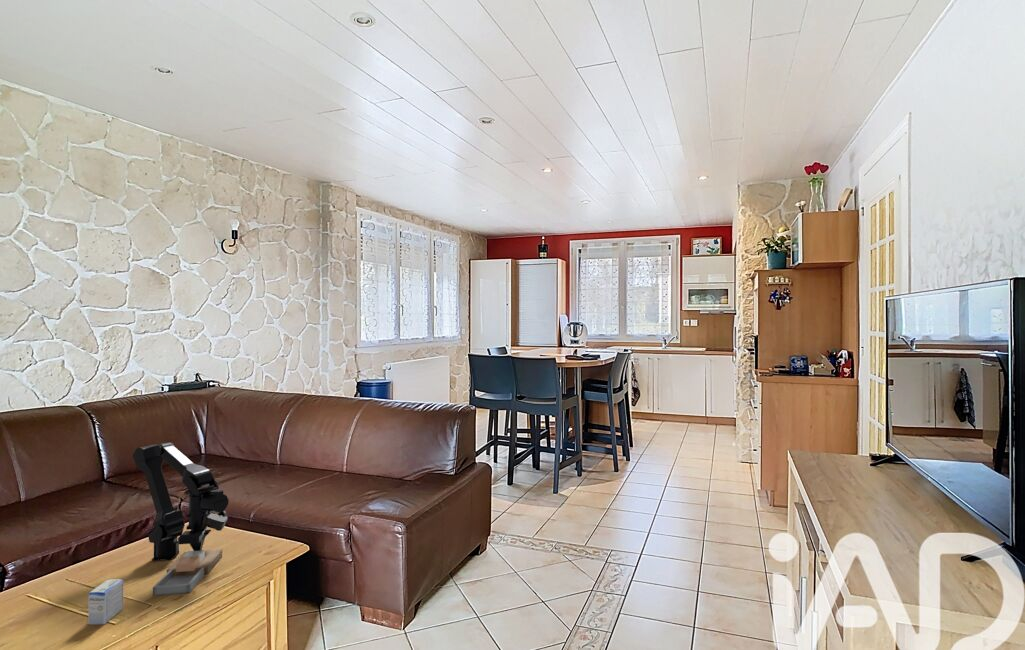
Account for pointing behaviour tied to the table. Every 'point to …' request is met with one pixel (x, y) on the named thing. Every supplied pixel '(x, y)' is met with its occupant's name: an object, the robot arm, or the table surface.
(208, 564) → the walnut board
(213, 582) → the table surface
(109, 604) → the medicine box
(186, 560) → the tile terracotta
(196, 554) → the white block
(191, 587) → the tray
